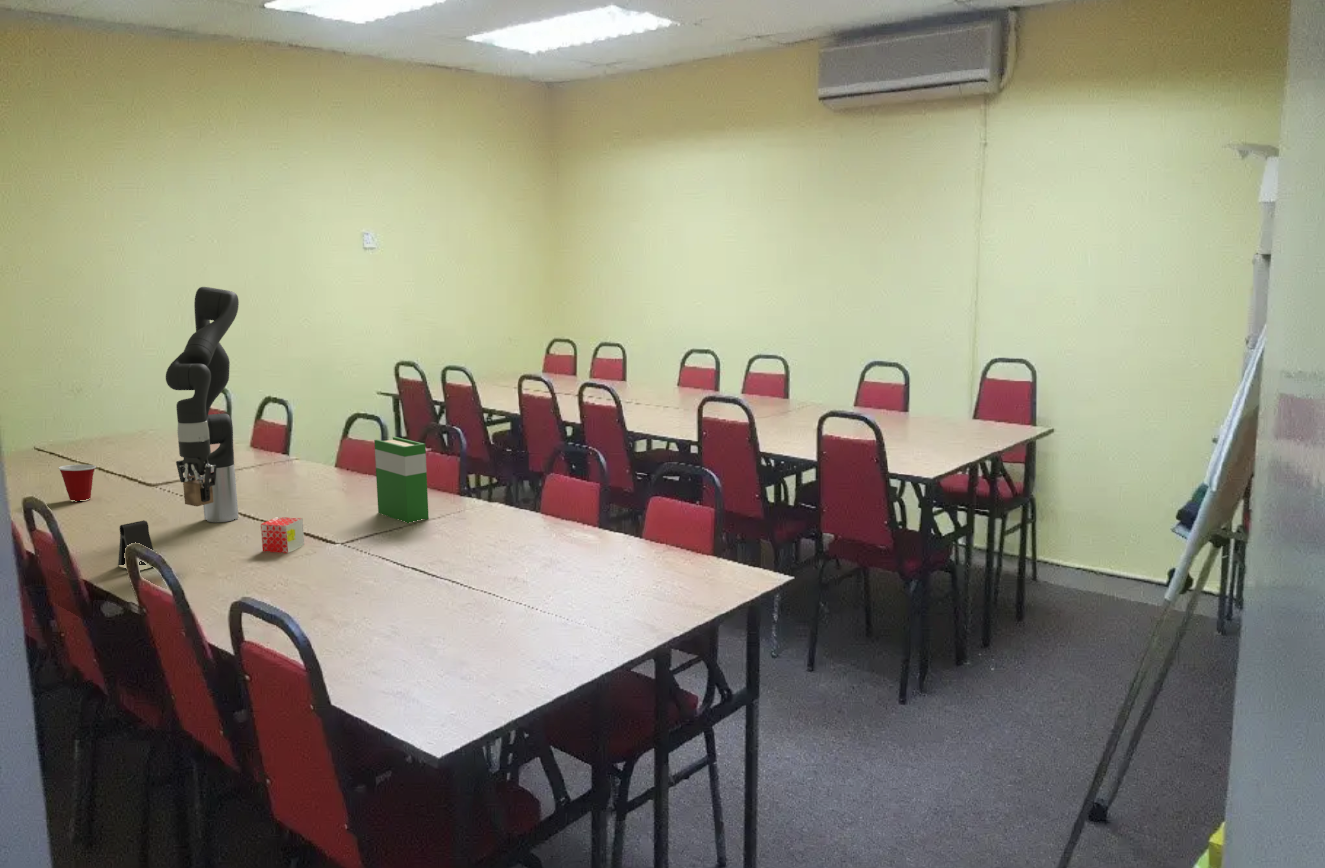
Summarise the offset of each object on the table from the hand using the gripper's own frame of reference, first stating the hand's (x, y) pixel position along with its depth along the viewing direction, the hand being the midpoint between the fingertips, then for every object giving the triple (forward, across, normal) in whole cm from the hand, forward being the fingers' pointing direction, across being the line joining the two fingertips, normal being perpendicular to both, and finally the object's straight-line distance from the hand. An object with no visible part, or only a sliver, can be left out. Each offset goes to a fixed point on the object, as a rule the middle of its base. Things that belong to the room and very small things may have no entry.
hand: (199, 499), depth 254 cm
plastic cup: (+17, -93, +20) cm, 97 cm away
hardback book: (+16, +17, +58) cm, 63 cm away
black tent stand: (+16, -8, -14) cm, 23 cm away
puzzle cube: (+16, +12, +16) cm, 26 cm away
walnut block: (+1, 0, 0) cm, 1 cm away
